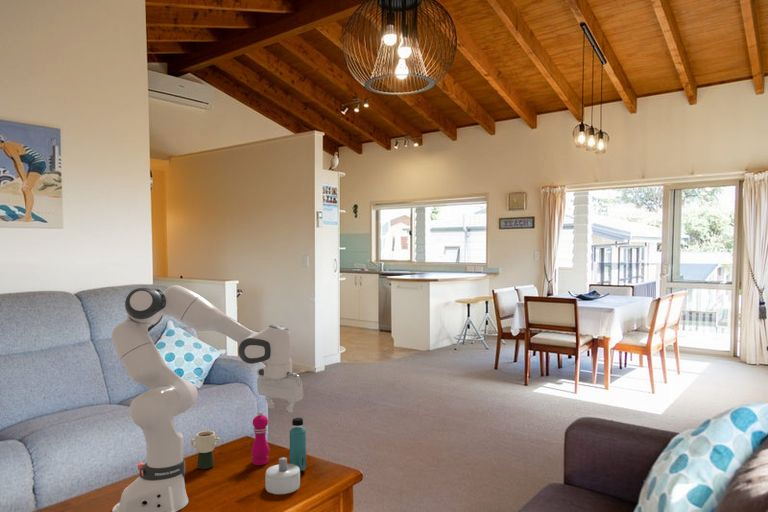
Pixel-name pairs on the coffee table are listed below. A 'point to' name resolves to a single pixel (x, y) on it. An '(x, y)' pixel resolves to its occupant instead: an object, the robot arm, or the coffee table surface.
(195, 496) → the coffee table surface
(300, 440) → the beverage bottle
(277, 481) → the cap
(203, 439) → the character mug
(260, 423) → the pepper mill
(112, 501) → the coffee table surface
